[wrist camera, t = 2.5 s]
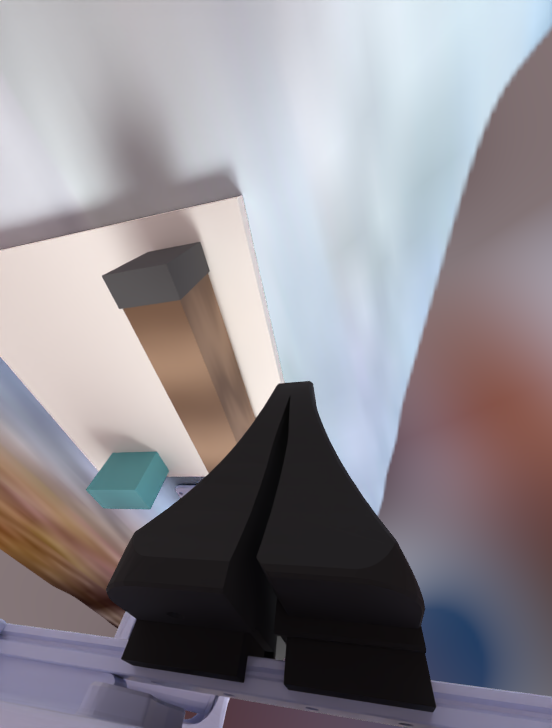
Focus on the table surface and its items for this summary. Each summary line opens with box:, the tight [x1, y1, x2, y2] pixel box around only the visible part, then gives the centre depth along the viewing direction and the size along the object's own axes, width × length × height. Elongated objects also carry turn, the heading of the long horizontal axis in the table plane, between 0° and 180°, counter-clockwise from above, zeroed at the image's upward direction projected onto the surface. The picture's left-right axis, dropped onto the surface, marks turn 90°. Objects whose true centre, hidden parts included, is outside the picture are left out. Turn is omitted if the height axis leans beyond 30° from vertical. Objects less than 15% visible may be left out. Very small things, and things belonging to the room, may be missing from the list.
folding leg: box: [102, 242, 255, 473], centre depth 18 cm, size 16×3×5 cm, turn 11°
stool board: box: [0, 195, 285, 509], centre depth 22 cm, size 23×22×5 cm
